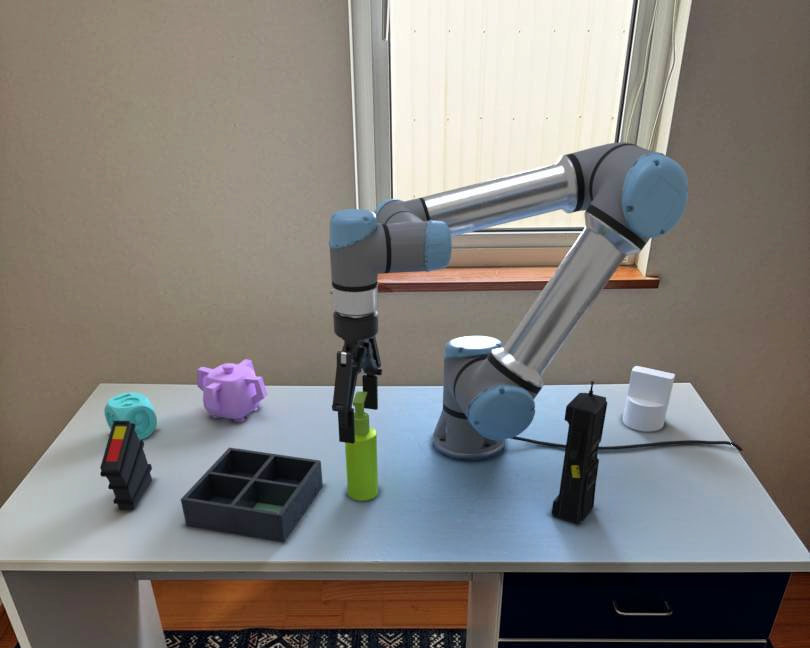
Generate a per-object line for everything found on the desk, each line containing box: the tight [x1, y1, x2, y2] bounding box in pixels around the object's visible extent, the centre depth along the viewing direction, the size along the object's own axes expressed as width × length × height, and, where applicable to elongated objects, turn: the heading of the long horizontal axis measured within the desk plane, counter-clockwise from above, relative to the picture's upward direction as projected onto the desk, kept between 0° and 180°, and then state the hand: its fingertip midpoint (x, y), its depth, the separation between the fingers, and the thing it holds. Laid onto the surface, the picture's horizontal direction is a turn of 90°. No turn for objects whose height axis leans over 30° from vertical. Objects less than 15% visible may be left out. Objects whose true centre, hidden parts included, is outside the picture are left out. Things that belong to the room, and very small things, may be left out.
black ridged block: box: [99, 421, 153, 510], centre depth 143 cm, size 4×13×15 cm
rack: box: [180, 446, 324, 543], centre depth 142 cm, size 19×19×6 cm
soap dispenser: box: [344, 391, 379, 502], centre depth 141 cm, size 6×7×20 cm
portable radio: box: [551, 380, 608, 525], centre depth 133 cm, size 8×6×25 cm
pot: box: [196, 358, 268, 423], centre depth 171 cm, size 18×17×12 cm
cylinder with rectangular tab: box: [622, 365, 676, 433], centre depth 166 cm, size 9×9×12 cm
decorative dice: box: [103, 391, 158, 441], centre depth 164 cm, size 8×8×8 cm
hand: (359, 424), depth 139 cm, fingers open, 13 cm apart
